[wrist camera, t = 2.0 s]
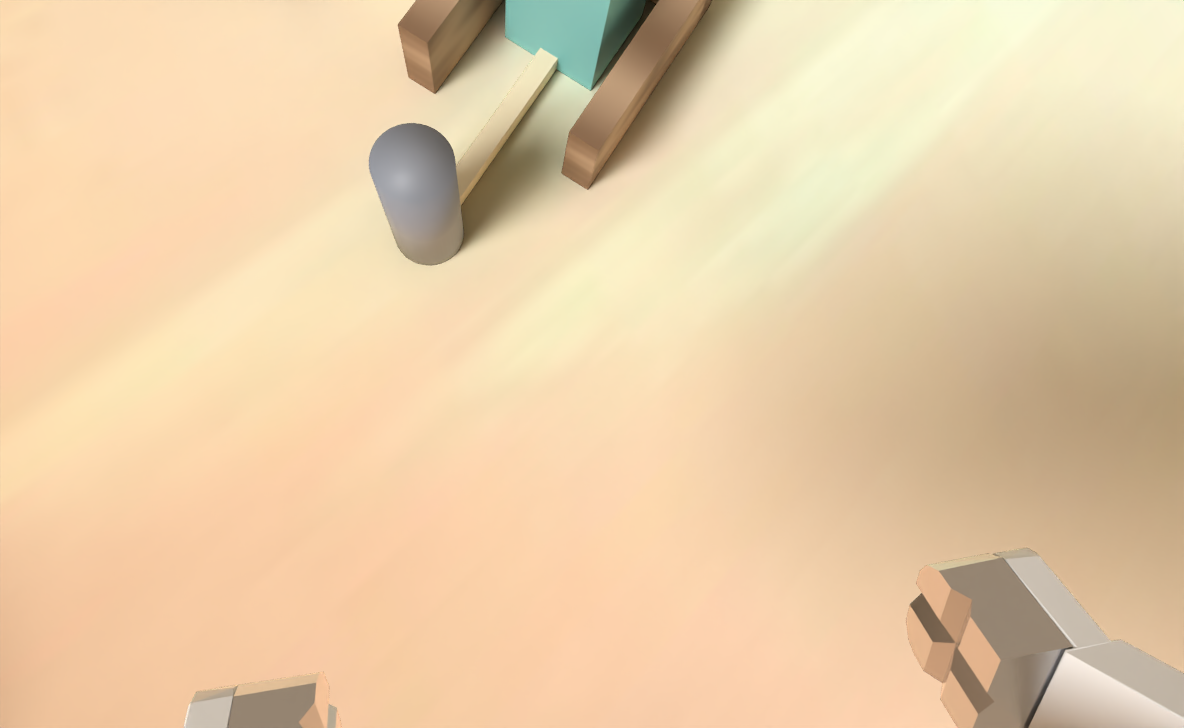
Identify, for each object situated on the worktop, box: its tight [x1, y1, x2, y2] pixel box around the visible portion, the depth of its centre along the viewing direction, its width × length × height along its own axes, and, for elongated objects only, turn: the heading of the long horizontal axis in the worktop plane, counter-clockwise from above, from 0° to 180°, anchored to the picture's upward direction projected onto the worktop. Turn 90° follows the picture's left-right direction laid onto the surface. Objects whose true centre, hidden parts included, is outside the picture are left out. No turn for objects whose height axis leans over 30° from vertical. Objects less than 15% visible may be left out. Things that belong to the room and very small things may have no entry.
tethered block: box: [369, 0, 646, 265], centre depth 37 cm, size 17×5×9 cm, turn 148°
